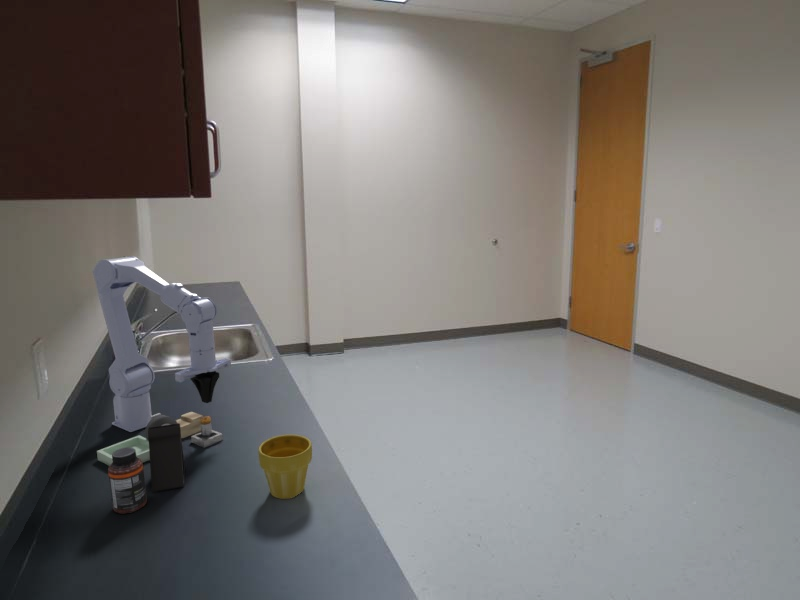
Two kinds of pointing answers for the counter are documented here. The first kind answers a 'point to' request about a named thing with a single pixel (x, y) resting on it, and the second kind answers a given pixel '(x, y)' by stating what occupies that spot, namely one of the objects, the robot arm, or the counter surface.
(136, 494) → the supplement bottle
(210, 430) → the pin
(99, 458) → the tray
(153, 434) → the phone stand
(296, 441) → the plant pot
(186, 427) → the block
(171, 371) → the counter surface
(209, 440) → the pin socket
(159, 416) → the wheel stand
